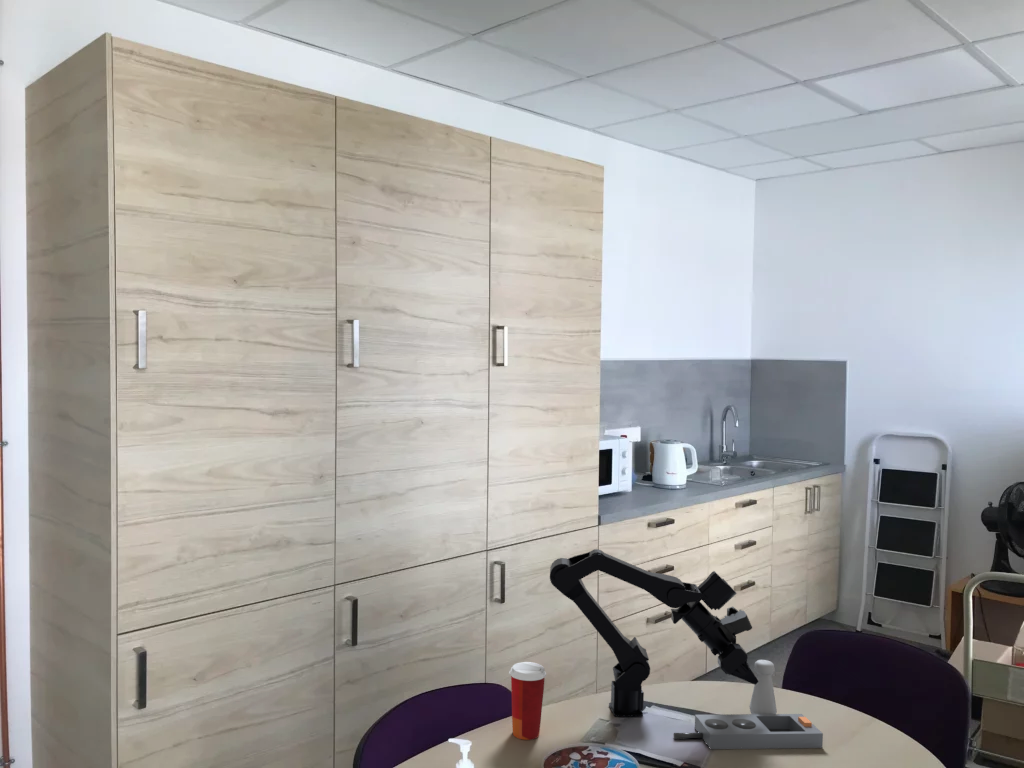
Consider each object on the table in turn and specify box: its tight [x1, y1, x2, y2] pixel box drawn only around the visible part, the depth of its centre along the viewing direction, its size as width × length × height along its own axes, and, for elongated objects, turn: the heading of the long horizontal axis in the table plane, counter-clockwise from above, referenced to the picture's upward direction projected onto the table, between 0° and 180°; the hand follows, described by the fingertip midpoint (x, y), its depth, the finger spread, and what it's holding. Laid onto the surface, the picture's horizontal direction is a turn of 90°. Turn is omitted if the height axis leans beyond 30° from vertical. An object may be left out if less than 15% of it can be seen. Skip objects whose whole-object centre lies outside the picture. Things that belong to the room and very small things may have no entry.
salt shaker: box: [749, 659, 778, 714], centre depth 178 cm, size 6×6×13 cm
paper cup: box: [508, 661, 547, 741], centre depth 167 cm, size 8×8×14 cm
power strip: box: [672, 713, 824, 750], centre depth 168 cm, size 30×10×4 cm, turn 95°
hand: (752, 675), depth 178 cm, fingers open, 9 cm apart
